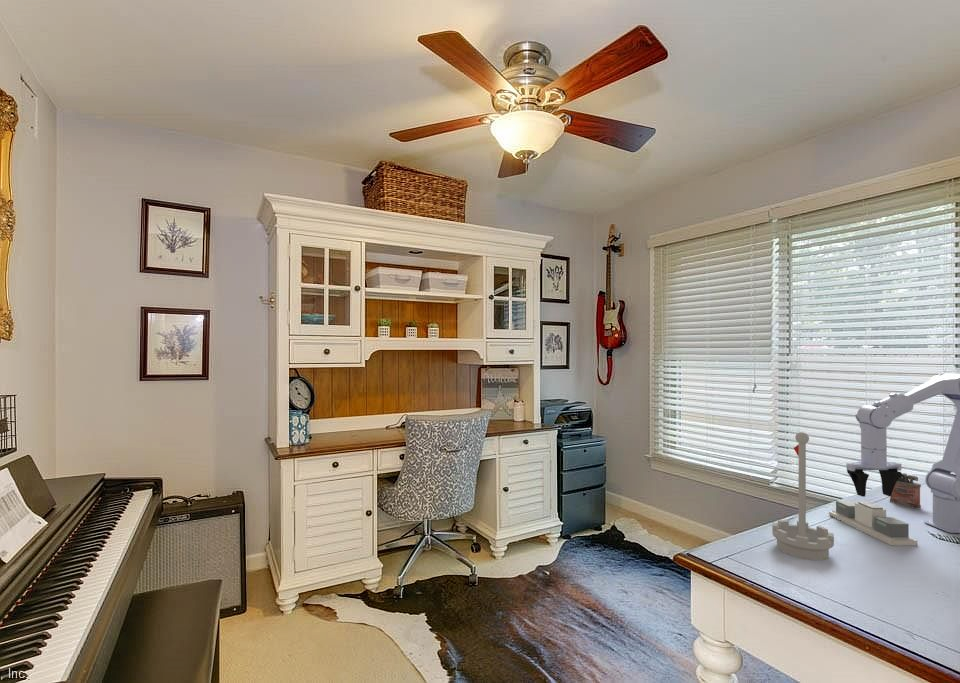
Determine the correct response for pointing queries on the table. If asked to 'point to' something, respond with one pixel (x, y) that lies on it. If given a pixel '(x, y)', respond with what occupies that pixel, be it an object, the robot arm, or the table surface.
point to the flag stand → (802, 521)
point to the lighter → (906, 492)
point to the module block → (868, 513)
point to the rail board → (875, 525)
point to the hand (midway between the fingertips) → (874, 495)
